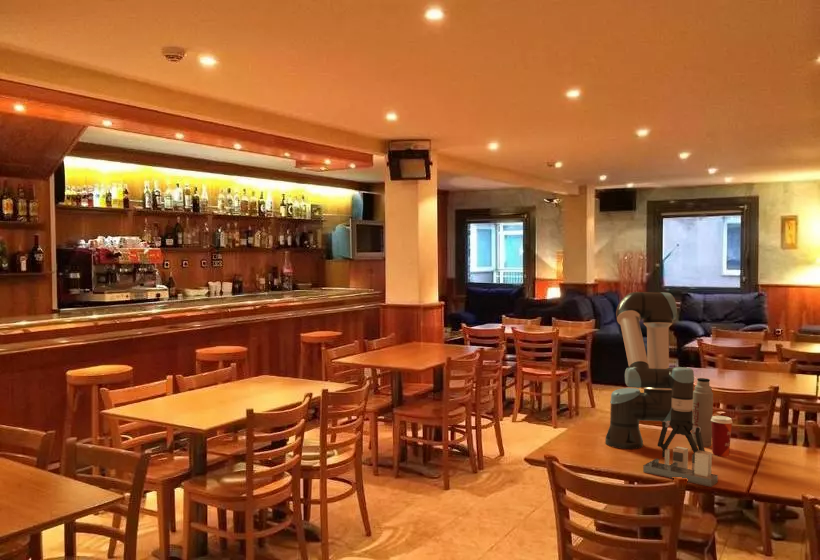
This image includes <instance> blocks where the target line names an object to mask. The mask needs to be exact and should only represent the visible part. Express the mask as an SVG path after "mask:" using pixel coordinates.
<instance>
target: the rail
mask: <svg viewBox="0 0 820 560" xmlns="http://www.w3.org/2000/svg"><path fill="white" fill-rule="evenodd" d="M712 459H713V452H712V451H711V452H710V451H701V450H699V449H698V451H697V452H695V453H694V452H693V454H691V464H692V463H695V469H694V470H692V469H690V468H688V469H686V468H681V467H678V463H676V462H674V463H673V462H672V463H670V464H669V465H666V464H665V463H661V462H660V459H659V458H654V459H653V460H651V461H648V462H647V463H645V464H644V465H643V470H642V471H643V473H646V474H650V475H655V476H659V477H663V476H664V478H668V477H669V479H673V478H672V477H682V478H687V479H688V482H687V483H692V484H697V485H701V486H705V487H709V488H711V487H713V486H715V484H717V483H718V478H719V477H718V476H719V475H718V474H713V473H712V463H713V461H712Z"/></svg>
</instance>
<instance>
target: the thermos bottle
mask: <svg viewBox="0 0 820 560" xmlns="http://www.w3.org/2000/svg"><path fill="white" fill-rule="evenodd" d="M710 382H711V379H709V378H707V377H706V378H704V377H698V378H697V381H696V385H694V389H693V409H692V412H693V420H692V423H693V425H694V426H697V427H699V426H700V427H701V436H702V441H703V445H704V448H705V447H707V448H708V447H712V423H711V419H712V416H714V415H713V410H714V406H713V405H714V392H712V386H710ZM691 434H692V437H693V439H694V441H695V443H696V445H697V440H696V435H695V432H694V429H692V430H691ZM697 447H698V445H697Z"/></svg>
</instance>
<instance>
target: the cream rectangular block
mask: <svg viewBox="0 0 820 560" xmlns="http://www.w3.org/2000/svg"><path fill="white" fill-rule="evenodd" d="M674 462H676V463H678V467H681V468H686V469H689V468H688V467H689V466H688V465H689V464H688V463H689V448H688V447H687V448H686V447H683V446H676V447H673V449H672V464H673V463H674Z"/></svg>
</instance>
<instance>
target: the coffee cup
mask: <svg viewBox="0 0 820 560" xmlns="http://www.w3.org/2000/svg"><path fill="white" fill-rule="evenodd" d="M711 423H712V445H711V450H712V451H711V453H712V456H717V457H720V458H721V457H723V458H724V457H725V458H726V457H729V455H730V446H731V437H732V436H731V435H732V428H733V427H732V425H733V424H734V423H733V419H732V418H731V417H729V416H724V415H712V419H711Z"/></svg>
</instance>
